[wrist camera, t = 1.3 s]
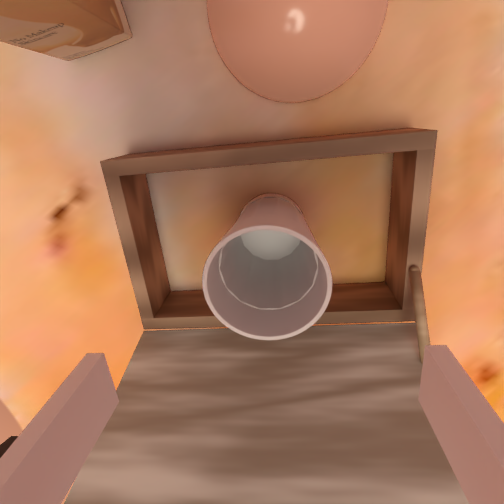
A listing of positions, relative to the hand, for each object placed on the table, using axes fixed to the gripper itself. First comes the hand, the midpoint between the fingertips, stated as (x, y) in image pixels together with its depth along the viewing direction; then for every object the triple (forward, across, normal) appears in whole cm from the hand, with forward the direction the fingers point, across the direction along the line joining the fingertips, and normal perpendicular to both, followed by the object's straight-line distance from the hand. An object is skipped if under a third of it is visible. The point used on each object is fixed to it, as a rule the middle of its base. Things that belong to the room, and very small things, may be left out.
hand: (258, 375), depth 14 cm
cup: (+19, 0, 0) cm, 19 cm away
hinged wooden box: (+19, 0, -1) cm, 19 cm away
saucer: (+19, +3, +17) cm, 26 cm away
